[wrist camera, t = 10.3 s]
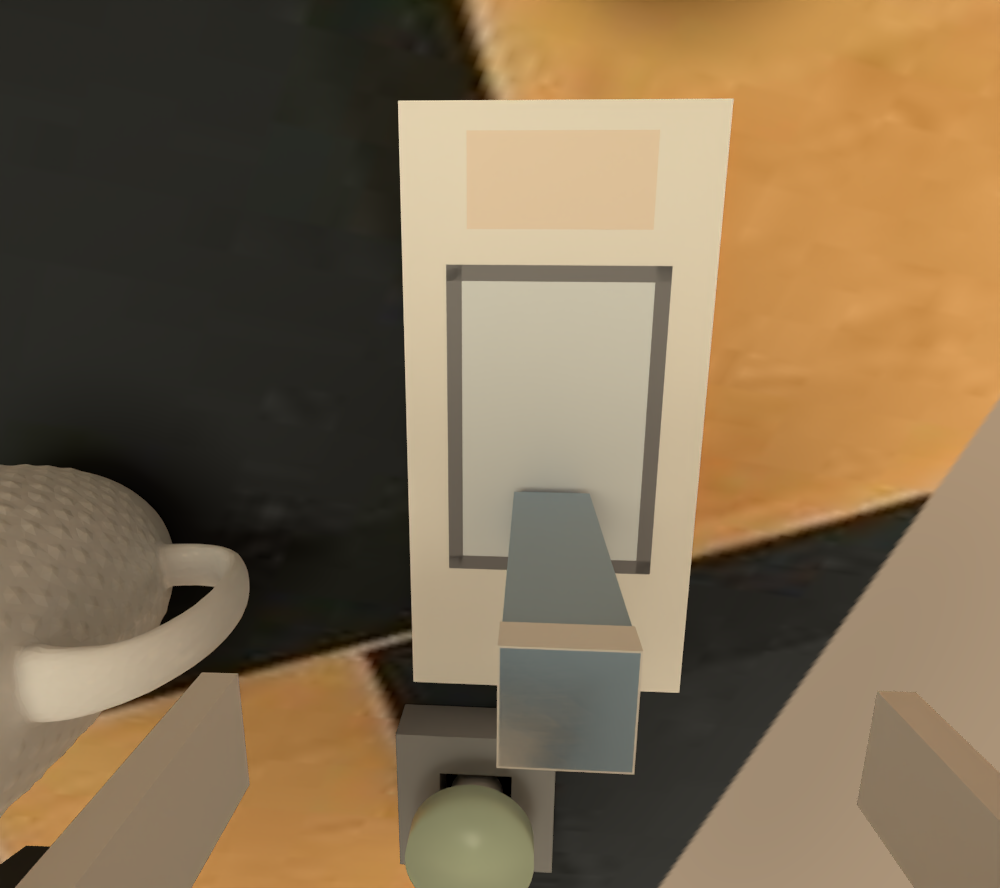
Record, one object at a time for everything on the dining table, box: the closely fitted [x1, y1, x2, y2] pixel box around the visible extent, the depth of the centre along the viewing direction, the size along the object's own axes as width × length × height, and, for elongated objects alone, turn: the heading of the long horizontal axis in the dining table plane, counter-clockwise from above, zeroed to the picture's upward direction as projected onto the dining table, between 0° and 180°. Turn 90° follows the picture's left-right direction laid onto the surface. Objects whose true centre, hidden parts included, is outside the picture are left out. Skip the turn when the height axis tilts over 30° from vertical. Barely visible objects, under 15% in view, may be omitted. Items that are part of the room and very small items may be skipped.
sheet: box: [398, 99, 734, 693], centre depth 24 cm, size 12×24×1 cm, turn 179°
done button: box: [405, 774, 534, 888], centre depth 25 cm, size 5×5×4 cm
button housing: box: [396, 704, 555, 873], centre depth 27 cm, size 7×7×2 cm
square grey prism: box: [496, 491, 643, 774], centre depth 19 cm, size 3×3×12 cm
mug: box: [0, 464, 249, 817], centre depth 20 cm, size 15×11×13 cm
